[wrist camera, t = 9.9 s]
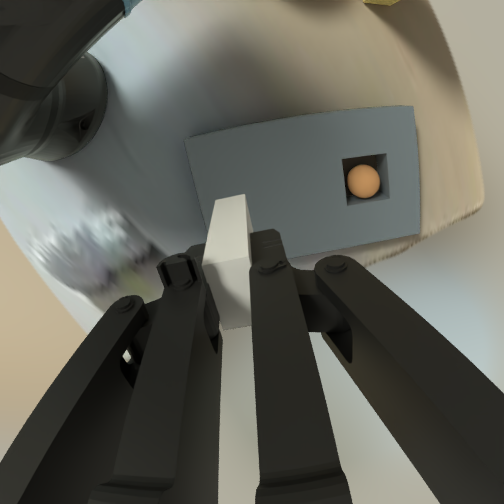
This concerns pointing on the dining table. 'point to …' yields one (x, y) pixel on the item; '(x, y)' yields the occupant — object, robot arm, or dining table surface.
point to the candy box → (381, 2)
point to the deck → (314, 176)
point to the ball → (363, 181)
